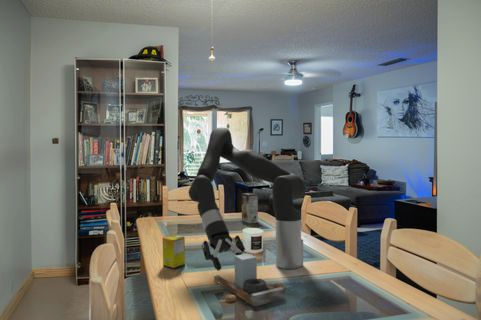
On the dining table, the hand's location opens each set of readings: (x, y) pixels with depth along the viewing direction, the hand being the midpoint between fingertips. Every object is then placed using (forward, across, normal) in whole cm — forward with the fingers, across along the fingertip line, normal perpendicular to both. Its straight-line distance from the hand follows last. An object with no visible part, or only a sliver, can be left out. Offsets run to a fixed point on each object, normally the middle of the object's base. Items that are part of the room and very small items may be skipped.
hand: (231, 267), depth 129 cm
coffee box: (-50, -58, -61) cm, 98 cm away
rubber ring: (+13, 0, +7) cm, 14 cm away
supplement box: (-14, +10, -21) cm, 27 cm away
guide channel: (+9, 0, +3) cm, 9 cm away
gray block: (+9, 0, +3) cm, 9 cm away
